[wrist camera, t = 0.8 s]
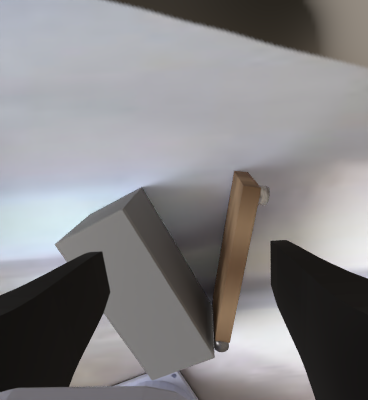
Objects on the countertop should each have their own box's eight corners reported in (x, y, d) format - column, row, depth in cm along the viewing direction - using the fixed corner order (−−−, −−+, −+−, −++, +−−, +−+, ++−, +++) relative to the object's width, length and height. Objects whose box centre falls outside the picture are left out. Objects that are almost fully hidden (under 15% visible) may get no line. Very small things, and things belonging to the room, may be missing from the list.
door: (231, 309, 23) (239, 354, 19) (211, 306, 23) (213, 351, 19) (258, 173, 20) (275, 189, 15) (234, 170, 20) (243, 185, 15)
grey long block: (211, 305, 24) (214, 357, 19) (162, 325, 25) (152, 380, 19) (141, 187, 21) (121, 209, 16) (89, 214, 22) (54, 244, 17)
